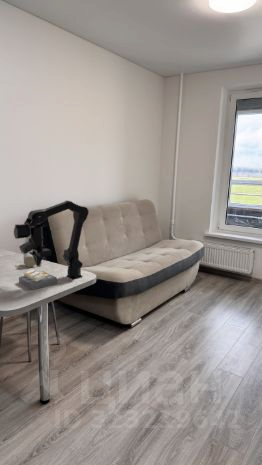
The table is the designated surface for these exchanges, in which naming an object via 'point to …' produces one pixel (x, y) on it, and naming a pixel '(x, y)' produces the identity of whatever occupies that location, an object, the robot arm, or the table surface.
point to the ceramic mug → (29, 260)
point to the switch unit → (41, 283)
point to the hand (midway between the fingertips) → (37, 266)
